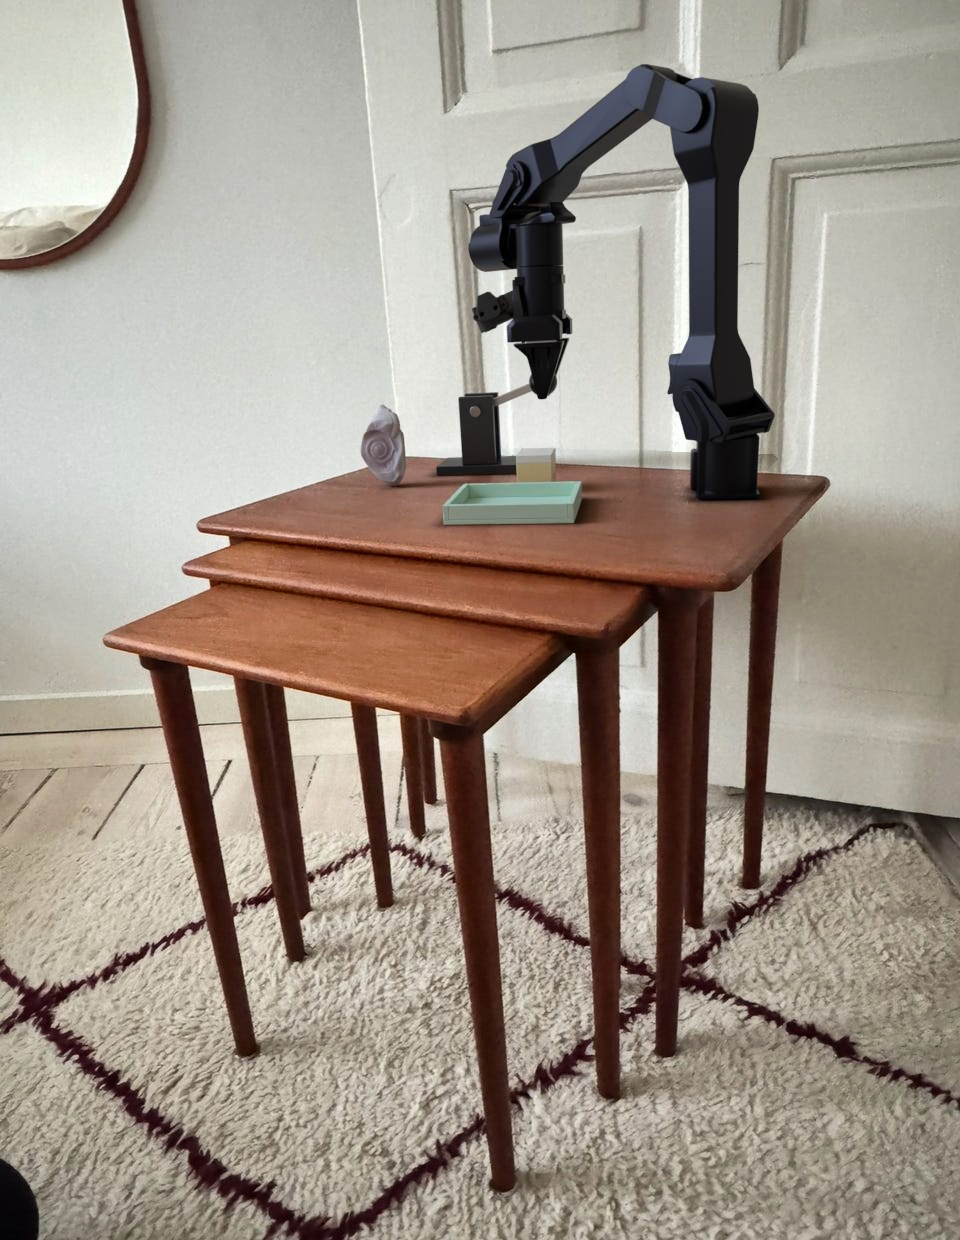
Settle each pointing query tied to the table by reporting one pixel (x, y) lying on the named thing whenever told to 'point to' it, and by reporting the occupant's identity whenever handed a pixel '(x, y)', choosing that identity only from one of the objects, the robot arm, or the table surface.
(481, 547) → the table surface
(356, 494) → the table surface
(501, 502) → the tray
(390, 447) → the fossil
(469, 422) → the black lever stand
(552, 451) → the cake slice
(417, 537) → the table surface
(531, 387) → the lever
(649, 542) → the table surface
